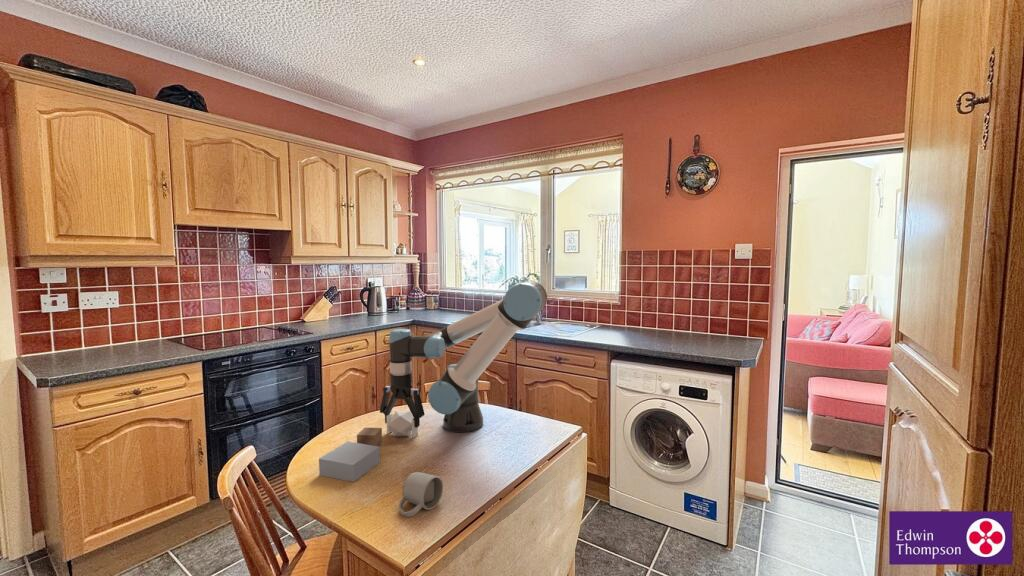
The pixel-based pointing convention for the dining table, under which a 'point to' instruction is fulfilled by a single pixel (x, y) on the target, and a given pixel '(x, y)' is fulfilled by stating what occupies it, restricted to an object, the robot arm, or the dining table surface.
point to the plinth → (349, 461)
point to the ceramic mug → (421, 492)
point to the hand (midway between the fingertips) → (402, 433)
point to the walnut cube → (370, 436)
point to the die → (401, 423)
